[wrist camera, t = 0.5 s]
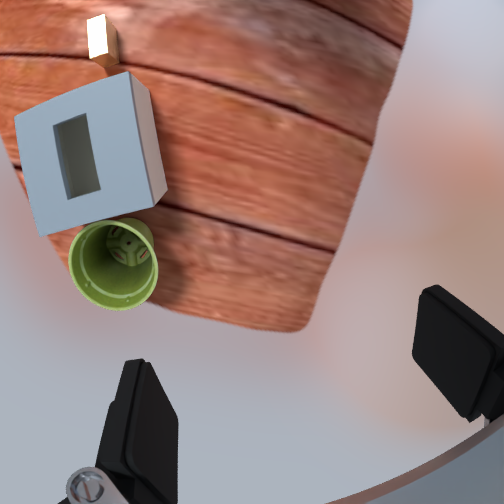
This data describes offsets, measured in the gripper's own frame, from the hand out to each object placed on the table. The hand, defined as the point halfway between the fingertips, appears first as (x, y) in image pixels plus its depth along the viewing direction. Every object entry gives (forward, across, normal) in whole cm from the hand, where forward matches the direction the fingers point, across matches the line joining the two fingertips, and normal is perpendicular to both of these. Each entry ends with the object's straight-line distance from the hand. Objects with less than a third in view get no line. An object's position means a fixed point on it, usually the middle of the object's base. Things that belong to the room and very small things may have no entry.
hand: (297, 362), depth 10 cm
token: (+28, +11, -22) cm, 37 cm away
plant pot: (+28, +13, +2) cm, 31 cm away
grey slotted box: (+28, +13, -9) cm, 32 cm away
